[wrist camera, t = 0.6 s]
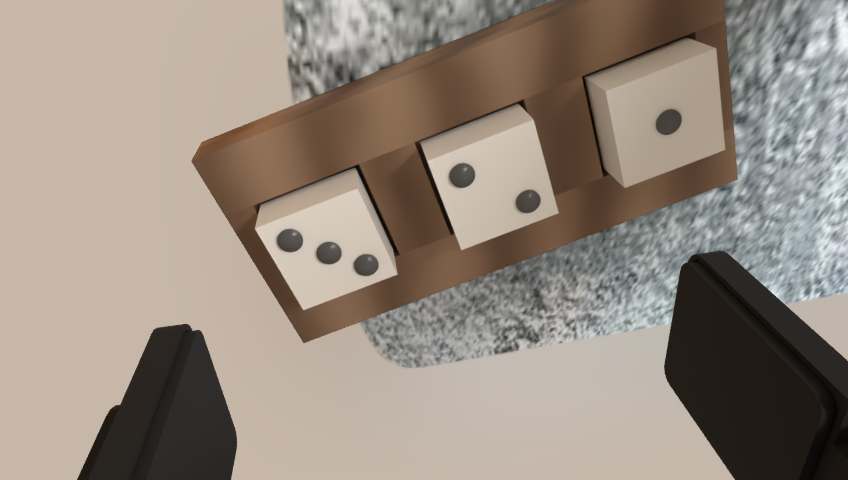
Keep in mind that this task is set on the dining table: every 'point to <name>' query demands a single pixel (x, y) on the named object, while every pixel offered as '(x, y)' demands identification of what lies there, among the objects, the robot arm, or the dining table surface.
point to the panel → (450, 108)
